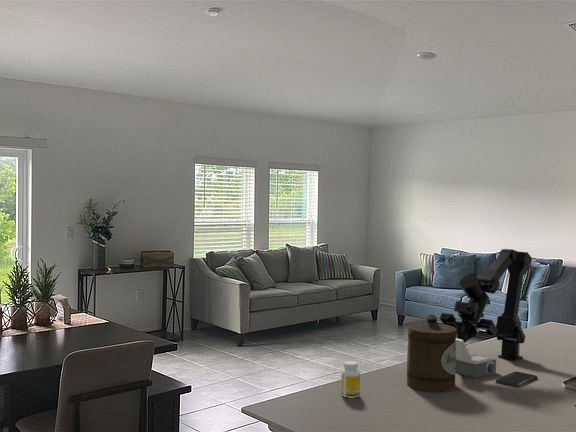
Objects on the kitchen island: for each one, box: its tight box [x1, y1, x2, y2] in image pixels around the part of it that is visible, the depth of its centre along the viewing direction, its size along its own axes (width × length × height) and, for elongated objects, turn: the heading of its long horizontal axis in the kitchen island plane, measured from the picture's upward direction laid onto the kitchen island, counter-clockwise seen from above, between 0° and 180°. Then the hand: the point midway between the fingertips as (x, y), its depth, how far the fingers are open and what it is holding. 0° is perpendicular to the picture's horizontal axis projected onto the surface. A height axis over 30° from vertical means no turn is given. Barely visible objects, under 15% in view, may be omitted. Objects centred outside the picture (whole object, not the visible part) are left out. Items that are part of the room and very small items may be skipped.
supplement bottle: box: [340, 360, 361, 399], centre depth 182 cm, size 5×5×10 cm
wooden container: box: [406, 314, 457, 393], centre depth 193 cm, size 15×15×22 cm
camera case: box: [455, 353, 497, 379], centre depth 207 cm, size 11×9×5 cm
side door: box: [456, 337, 474, 365], centre depth 202 cm, size 10×8×1 cm
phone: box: [495, 371, 538, 388], centre depth 199 cm, size 8×1×15 cm
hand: (458, 345), depth 202 cm, fingers closed
